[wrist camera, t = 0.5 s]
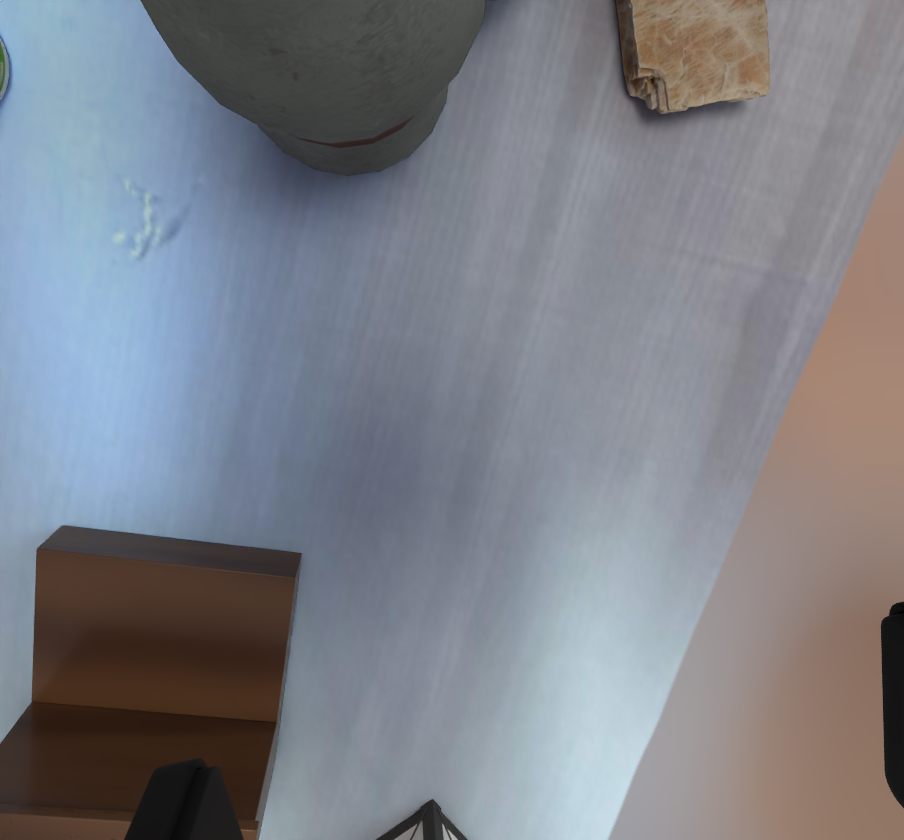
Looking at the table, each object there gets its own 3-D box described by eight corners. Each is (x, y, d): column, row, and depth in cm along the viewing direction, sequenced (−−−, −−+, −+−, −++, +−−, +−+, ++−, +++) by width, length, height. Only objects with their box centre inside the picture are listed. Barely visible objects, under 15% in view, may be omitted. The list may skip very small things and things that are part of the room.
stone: (607, -75, 34) (623, -98, 31) (737, -97, 34) (764, -121, 32) (625, 124, 36) (642, 117, 34) (747, 103, 36) (773, 94, 34)
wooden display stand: (58, 524, 39) (-59, 629, 29) (305, 553, 41) (278, 661, 30) (49, 745, 42) (-58, 908, 32) (278, 763, 44) (245, 924, 34)
